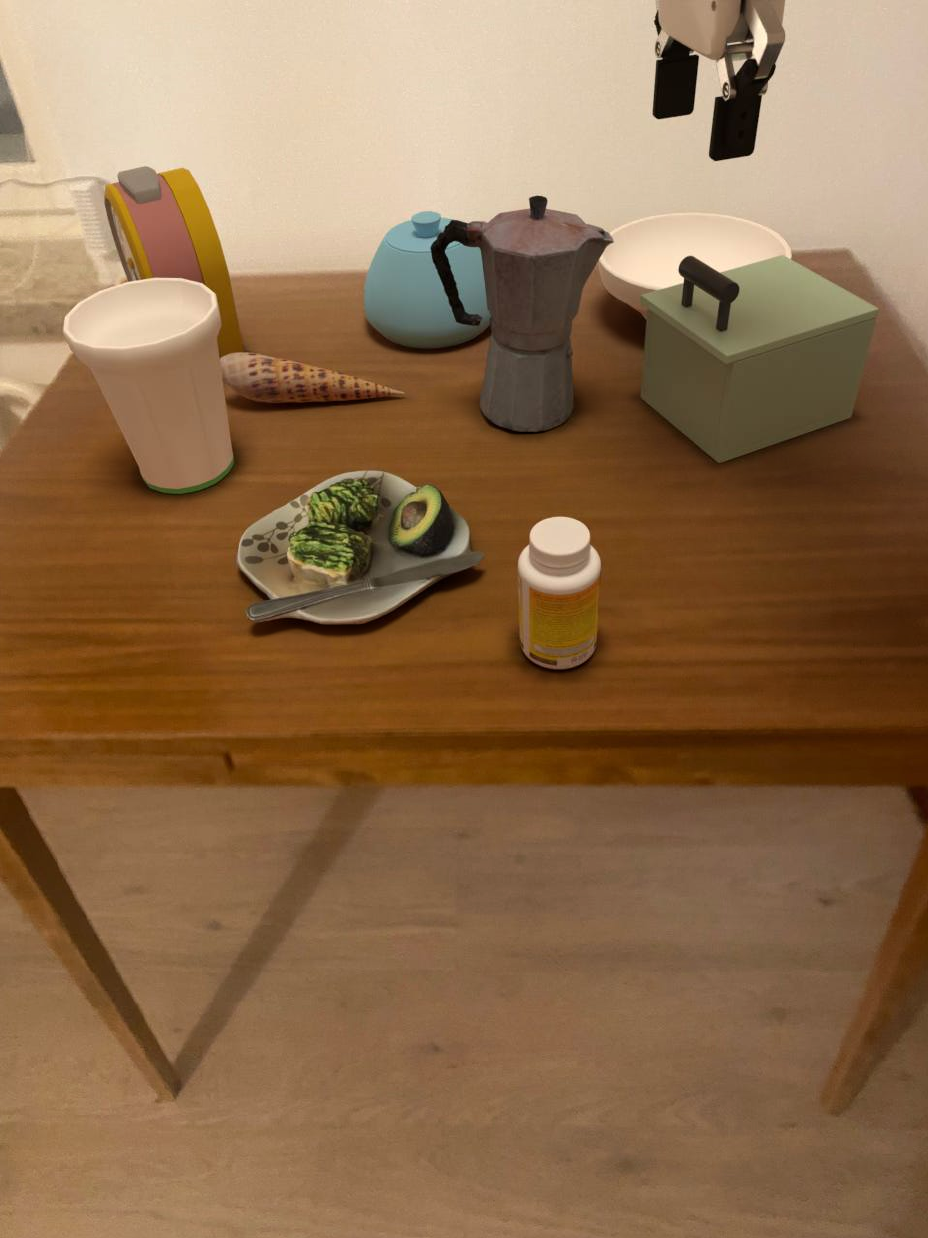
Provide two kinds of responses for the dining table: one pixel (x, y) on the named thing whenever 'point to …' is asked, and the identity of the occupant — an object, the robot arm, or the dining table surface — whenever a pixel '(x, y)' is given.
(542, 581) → the supplement bottle
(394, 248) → the sugar bowl
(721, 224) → the bowl
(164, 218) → the alarm clock
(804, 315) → the box lid
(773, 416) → the green hinged box
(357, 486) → the avocado toast plate
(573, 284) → the moka pot
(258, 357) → the seashell
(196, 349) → the cup
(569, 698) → the dining table surface
